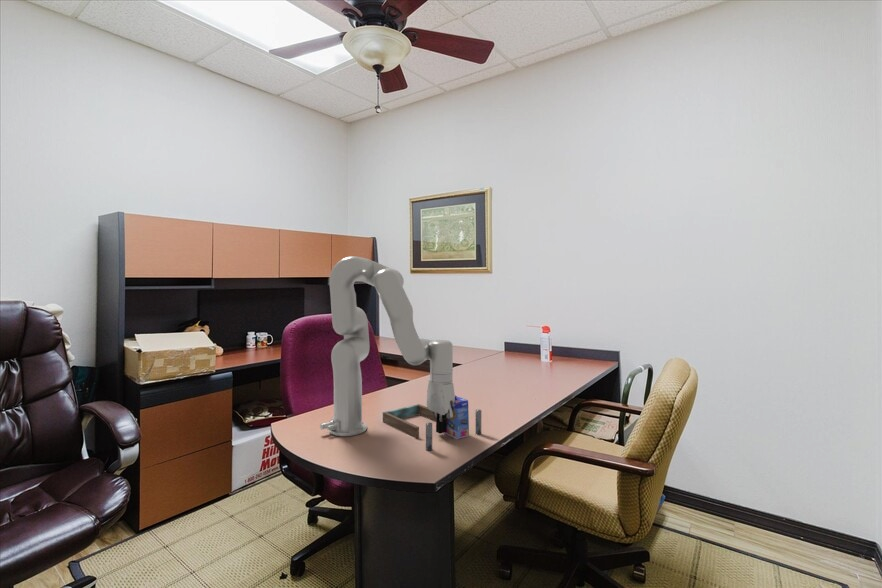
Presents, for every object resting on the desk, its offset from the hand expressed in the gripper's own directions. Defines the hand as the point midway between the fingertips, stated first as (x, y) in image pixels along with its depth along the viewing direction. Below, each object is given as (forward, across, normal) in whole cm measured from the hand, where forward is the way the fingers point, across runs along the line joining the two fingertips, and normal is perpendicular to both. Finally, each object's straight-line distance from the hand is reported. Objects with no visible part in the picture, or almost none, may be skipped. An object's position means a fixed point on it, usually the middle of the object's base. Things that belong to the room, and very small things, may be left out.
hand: (441, 432), depth 140 cm
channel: (+1, -13, 0) cm, 13 cm away
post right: (+1, +7, +10) cm, 13 cm away
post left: (+1, +7, -10) cm, 13 cm away
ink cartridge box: (+1, +2, +4) cm, 5 cm away
